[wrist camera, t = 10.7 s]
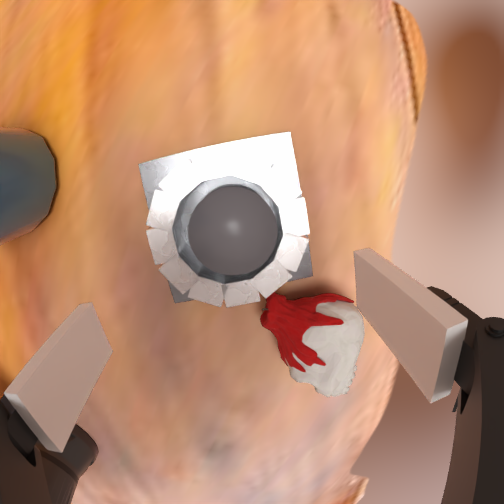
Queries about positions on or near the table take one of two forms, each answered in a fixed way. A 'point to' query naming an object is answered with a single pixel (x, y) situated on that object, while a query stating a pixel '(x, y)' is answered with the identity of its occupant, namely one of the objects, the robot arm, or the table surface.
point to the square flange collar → (197, 187)
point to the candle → (317, 338)
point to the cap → (232, 230)
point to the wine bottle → (24, 182)
